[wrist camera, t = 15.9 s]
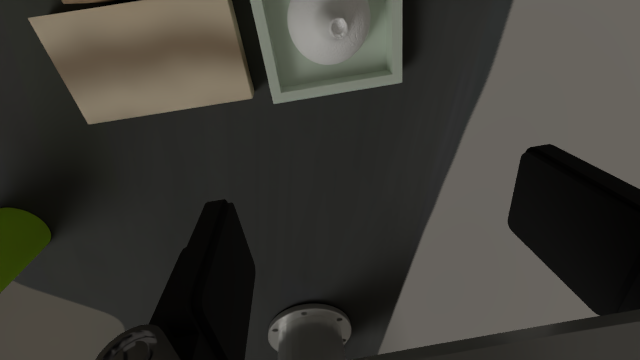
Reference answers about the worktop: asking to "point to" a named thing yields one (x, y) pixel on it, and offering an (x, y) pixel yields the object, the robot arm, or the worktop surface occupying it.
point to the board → (147, 56)
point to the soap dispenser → (19, 242)
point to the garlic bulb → (328, 28)
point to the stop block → (84, 1)
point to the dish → (352, 74)
